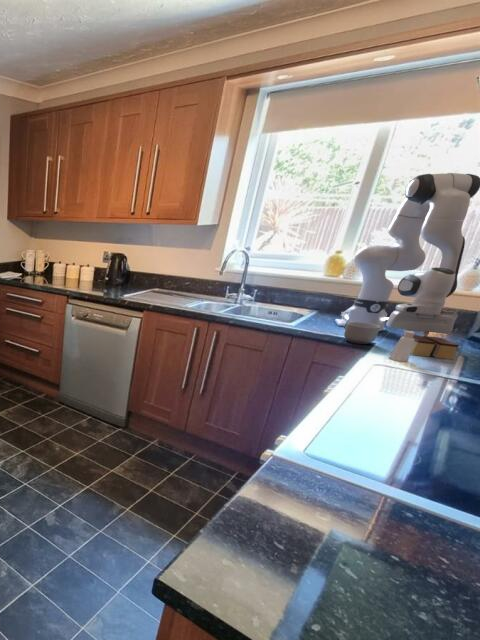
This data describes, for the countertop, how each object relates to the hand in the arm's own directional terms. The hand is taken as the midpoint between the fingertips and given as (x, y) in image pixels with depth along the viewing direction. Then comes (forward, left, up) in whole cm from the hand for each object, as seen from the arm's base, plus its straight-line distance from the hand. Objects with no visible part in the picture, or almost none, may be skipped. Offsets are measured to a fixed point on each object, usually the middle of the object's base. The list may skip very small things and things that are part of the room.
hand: (411, 340), depth 180 cm
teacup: (+3, -20, -3) cm, 20 cm away
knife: (+7, 0, -2) cm, 7 cm away
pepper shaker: (+29, -15, -3) cm, 33 cm away
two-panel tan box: (+11, 0, -2) cm, 11 cm away
